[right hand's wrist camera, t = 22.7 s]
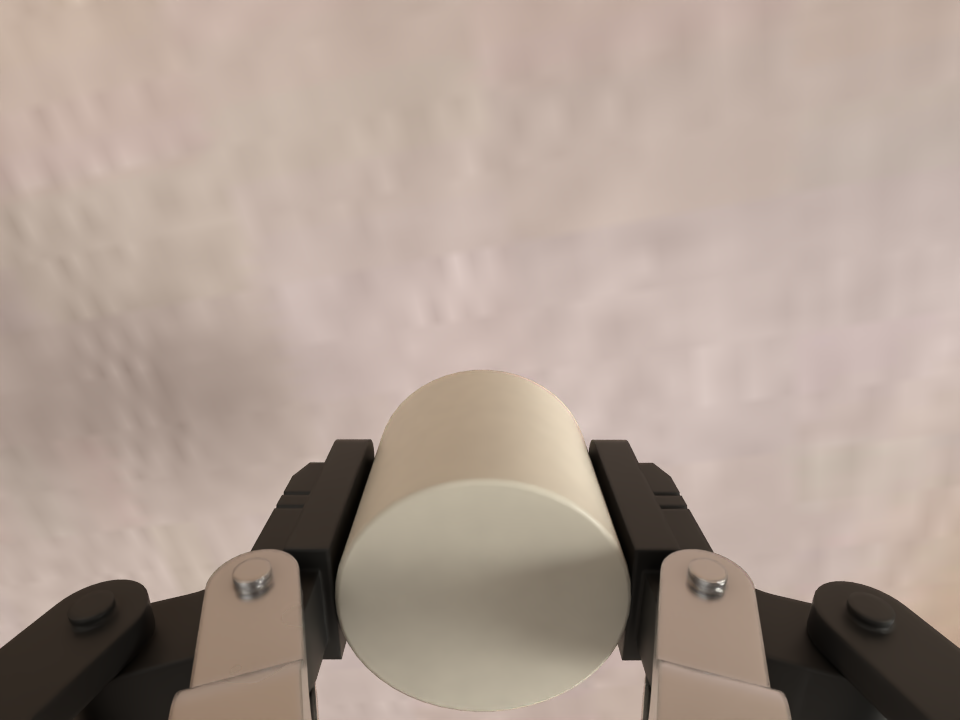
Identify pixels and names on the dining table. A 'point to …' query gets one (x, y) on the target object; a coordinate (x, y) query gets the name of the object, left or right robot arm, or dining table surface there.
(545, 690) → the cream short cylinder
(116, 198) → the dining table surface
